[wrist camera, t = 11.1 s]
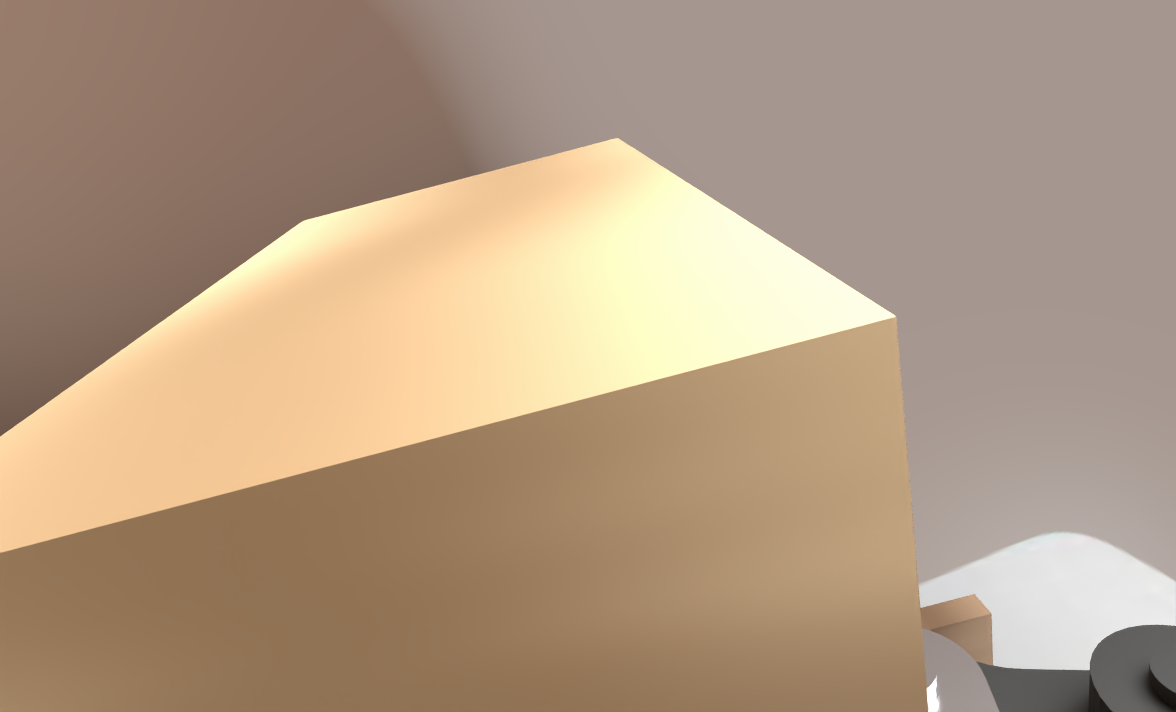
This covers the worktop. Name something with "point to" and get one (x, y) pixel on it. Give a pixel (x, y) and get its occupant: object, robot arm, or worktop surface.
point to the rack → (962, 625)
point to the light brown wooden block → (479, 473)
